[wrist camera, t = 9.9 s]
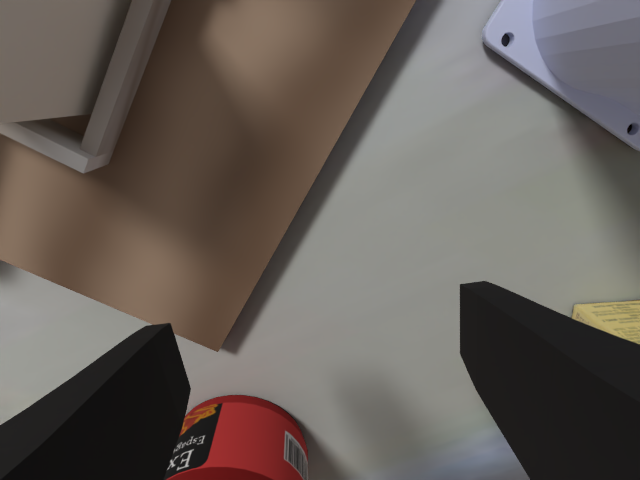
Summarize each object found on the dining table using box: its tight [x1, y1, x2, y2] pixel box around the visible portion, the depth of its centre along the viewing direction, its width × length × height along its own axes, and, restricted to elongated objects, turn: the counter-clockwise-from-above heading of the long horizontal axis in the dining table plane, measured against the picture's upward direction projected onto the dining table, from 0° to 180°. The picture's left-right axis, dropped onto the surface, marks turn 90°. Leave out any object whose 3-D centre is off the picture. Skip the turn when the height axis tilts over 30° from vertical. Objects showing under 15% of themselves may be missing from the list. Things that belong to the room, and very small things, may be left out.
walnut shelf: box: [0, 0, 416, 352], centre depth 14 cm, size 15×26×4 cm, turn 151°
